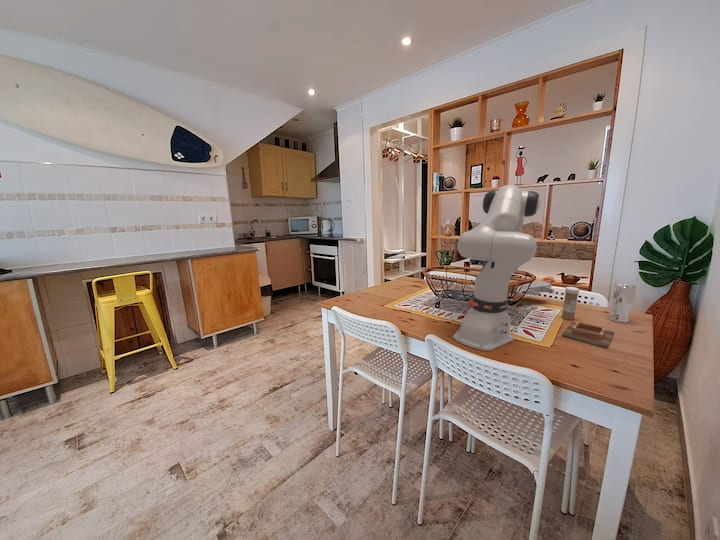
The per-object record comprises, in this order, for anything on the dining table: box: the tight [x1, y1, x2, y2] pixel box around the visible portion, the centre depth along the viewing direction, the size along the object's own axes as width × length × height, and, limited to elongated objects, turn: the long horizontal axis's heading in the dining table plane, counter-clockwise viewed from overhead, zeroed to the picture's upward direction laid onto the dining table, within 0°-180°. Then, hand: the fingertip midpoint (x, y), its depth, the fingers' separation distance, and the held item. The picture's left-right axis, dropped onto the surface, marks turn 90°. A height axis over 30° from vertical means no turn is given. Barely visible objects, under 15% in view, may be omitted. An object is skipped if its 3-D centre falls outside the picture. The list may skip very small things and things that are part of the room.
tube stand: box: [561, 321, 615, 349], centre depth 104 cm, size 16×13×3 cm
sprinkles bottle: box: [561, 286, 580, 321], centre depth 119 cm, size 5×5×14 cm
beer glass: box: [608, 282, 637, 324], centre depth 116 cm, size 7×7×15 cm
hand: (545, 292), depth 129 cm, fingers open, 8 cm apart
